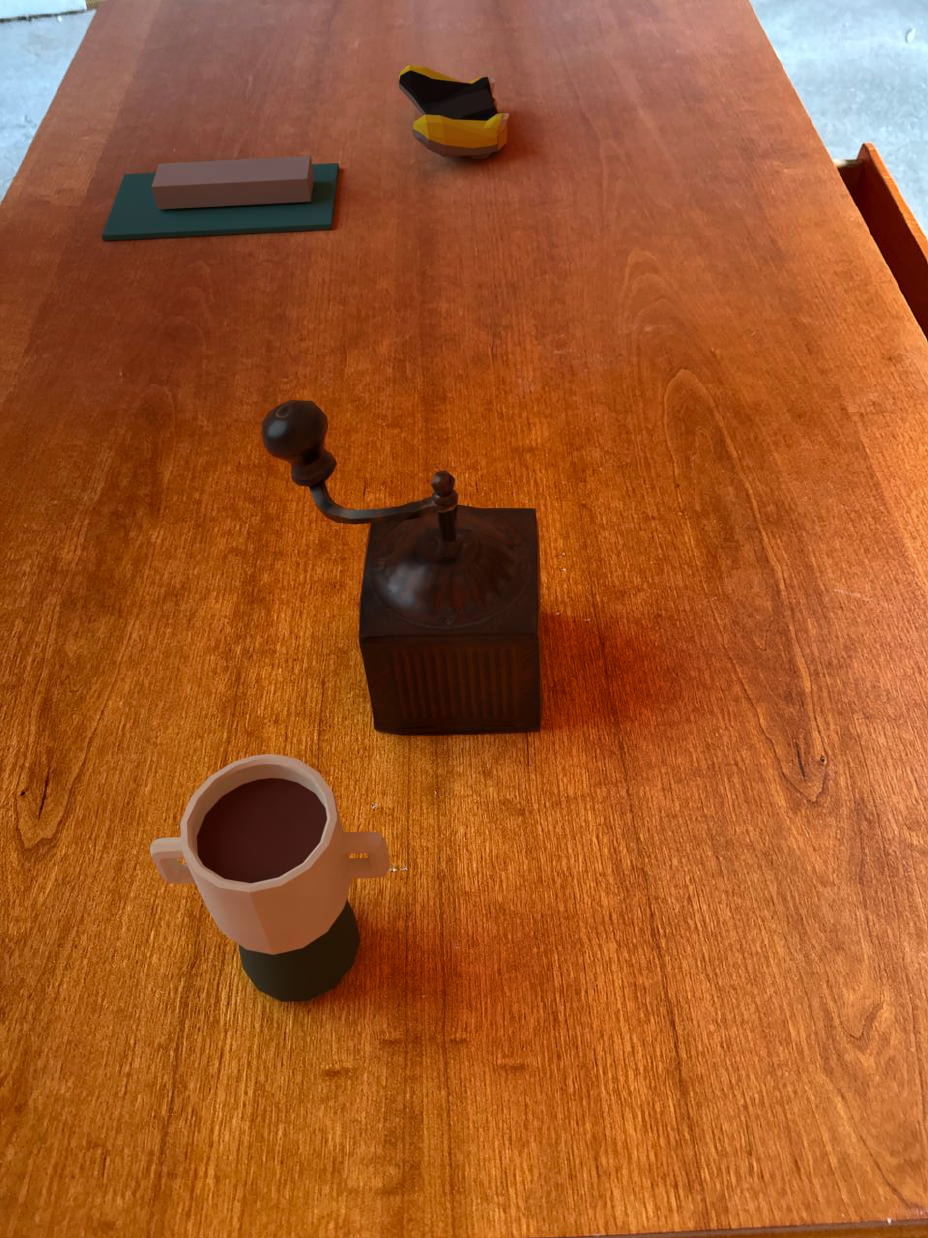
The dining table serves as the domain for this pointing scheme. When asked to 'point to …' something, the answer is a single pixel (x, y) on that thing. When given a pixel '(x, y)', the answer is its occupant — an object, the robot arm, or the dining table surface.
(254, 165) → the remote
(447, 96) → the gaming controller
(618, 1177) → the dining table surface
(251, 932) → the character mug
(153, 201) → the felt mat
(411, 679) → the manual coffee grinder
